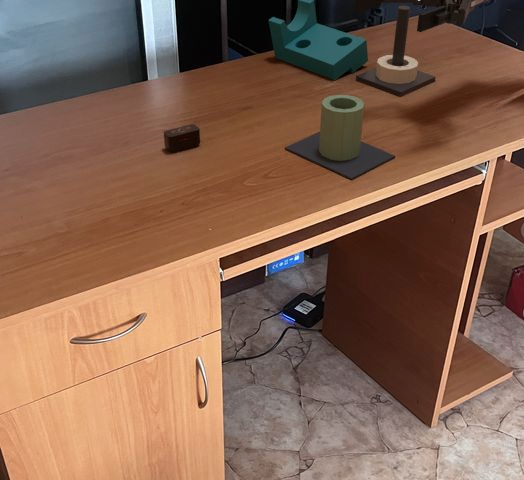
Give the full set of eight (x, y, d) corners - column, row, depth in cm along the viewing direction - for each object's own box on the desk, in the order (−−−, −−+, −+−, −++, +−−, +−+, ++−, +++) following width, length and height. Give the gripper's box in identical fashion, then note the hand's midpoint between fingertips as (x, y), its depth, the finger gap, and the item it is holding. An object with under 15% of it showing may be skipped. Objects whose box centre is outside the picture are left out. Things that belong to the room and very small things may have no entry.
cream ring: (423, 76, 167) (425, 62, 165) (399, 87, 162) (401, 72, 160) (392, 65, 171) (394, 51, 169) (368, 75, 167) (369, 61, 165)
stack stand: (435, 81, 168) (446, 7, 158) (400, 96, 161) (409, 21, 151) (390, 65, 174) (399, -6, 164) (355, 80, 168) (362, 7, 158)
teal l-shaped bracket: (276, 63, 178) (268, 20, 170) (308, 39, 182) (302, -4, 174) (335, 86, 169) (330, 41, 161) (368, 60, 172) (364, 16, 164)
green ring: (367, 151, 142) (372, 103, 136) (341, 164, 138) (345, 115, 132) (337, 138, 146) (341, 91, 140) (311, 150, 142) (313, 102, 136)
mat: (395, 157, 141) (395, 155, 141) (351, 180, 134) (351, 178, 134) (328, 129, 149) (328, 127, 149) (284, 149, 143) (284, 147, 143)
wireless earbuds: (205, 144, 144) (204, 128, 142) (170, 154, 141) (169, 137, 139) (193, 135, 147) (192, 118, 145) (159, 144, 144) (157, 127, 142)
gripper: (515, 25, 140) (444, 55, 128) (403, -5, 153) (330, 19, 142) (524, -20, 135) (452, 7, 123) (407, -47, 148) (333, -25, 137)
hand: (386, 13), depth 133 cm, fingers open, 13 cm apart
